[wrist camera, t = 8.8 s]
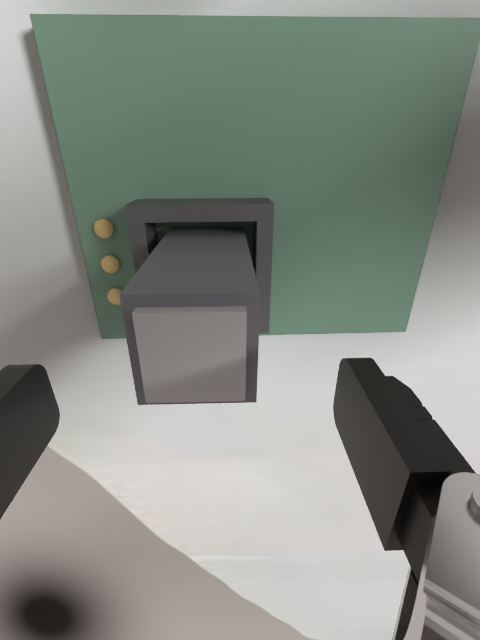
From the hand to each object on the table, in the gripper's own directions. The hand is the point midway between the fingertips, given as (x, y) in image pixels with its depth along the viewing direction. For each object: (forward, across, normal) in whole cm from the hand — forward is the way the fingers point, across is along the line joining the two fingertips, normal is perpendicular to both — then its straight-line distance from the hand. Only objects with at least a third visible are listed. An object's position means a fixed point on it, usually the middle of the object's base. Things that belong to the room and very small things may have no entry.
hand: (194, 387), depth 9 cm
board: (+12, -3, -3) cm, 13 cm away
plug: (+11, 0, 0) cm, 11 cm away
